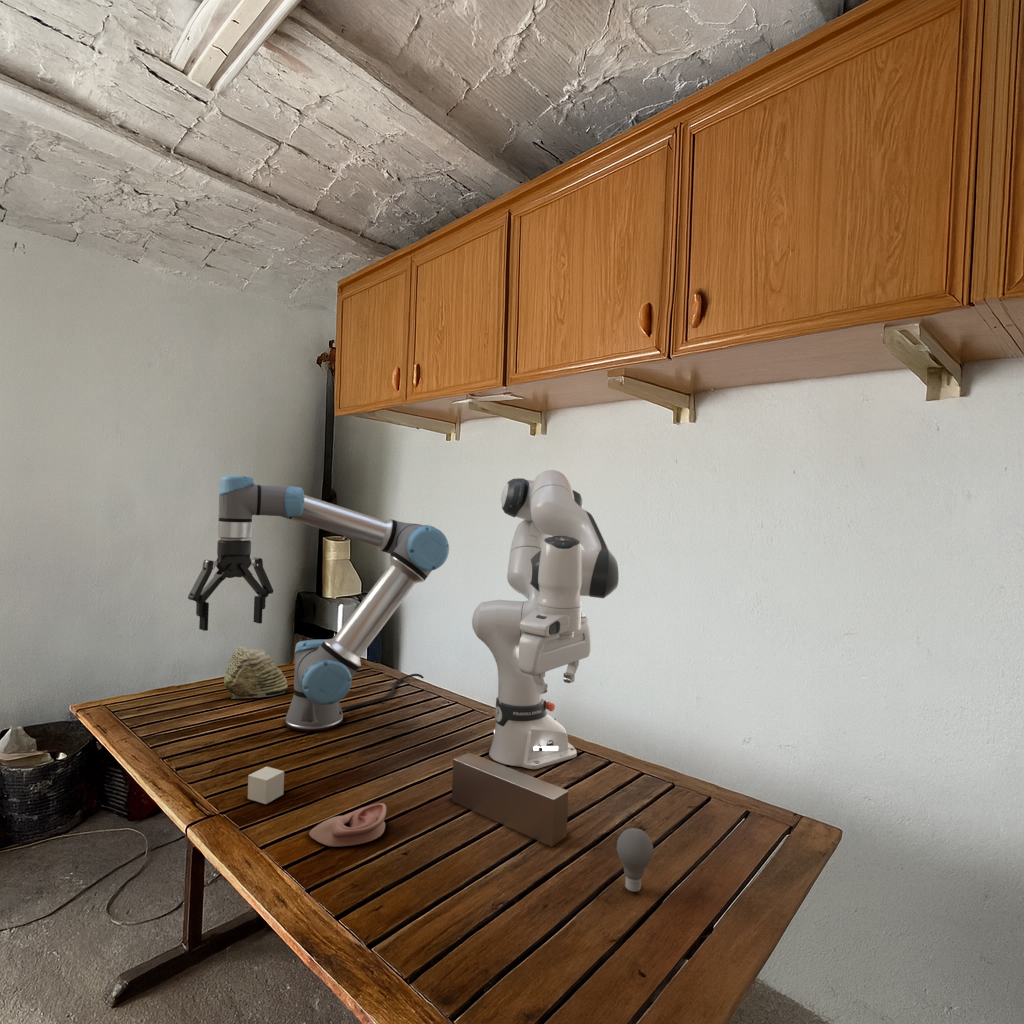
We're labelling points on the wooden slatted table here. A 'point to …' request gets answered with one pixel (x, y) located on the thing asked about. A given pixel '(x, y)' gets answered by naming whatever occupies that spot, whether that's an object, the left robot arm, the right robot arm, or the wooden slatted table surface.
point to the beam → (511, 798)
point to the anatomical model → (352, 827)
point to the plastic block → (265, 785)
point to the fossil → (253, 675)
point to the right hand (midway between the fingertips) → (555, 687)
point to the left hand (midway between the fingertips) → (231, 626)
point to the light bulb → (634, 856)
